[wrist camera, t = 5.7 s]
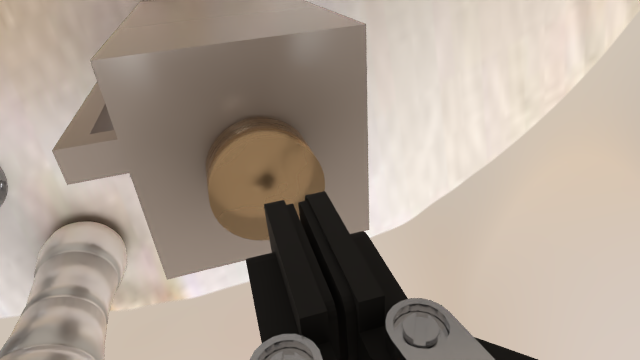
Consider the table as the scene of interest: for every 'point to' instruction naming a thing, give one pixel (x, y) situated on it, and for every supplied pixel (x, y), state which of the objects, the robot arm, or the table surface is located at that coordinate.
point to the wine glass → (2, 187)
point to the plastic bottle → (70, 296)
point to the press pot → (220, 111)
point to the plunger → (259, 173)
